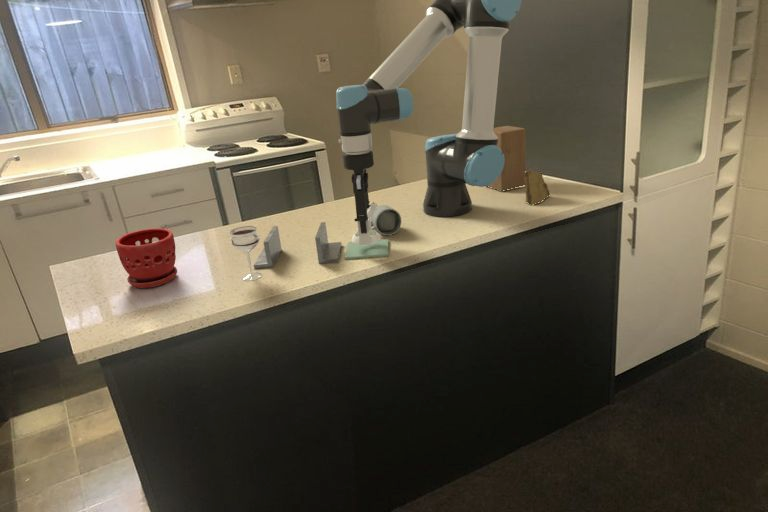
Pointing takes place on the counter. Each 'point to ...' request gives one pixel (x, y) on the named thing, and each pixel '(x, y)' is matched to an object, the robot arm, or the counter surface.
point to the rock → (535, 187)
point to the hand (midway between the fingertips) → (366, 238)
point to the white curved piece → (375, 234)
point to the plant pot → (148, 257)
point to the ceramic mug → (386, 220)
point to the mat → (367, 250)
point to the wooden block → (511, 157)
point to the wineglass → (246, 245)
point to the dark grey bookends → (273, 248)
